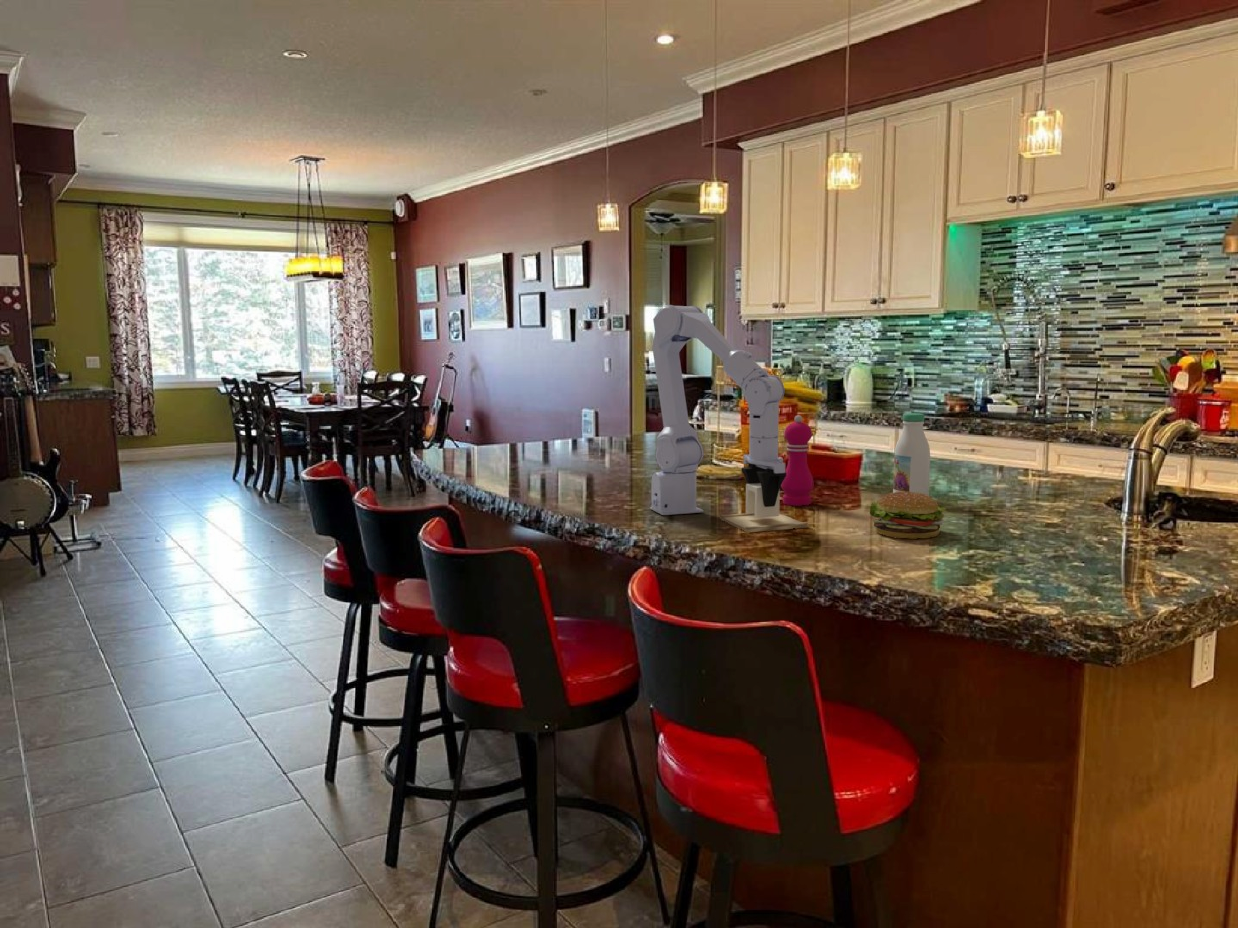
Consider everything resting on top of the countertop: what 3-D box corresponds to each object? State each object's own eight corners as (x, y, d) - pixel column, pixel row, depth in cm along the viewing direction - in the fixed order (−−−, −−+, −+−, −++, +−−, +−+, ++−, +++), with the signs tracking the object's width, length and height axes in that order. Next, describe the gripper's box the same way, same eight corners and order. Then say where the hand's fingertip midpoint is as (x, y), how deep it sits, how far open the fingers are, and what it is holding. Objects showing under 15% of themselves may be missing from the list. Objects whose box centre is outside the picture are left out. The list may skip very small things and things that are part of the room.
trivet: (747, 532, 171) (747, 527, 171) (720, 519, 183) (720, 515, 183) (807, 527, 175) (807, 523, 175) (776, 515, 187) (776, 511, 187)
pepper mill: (813, 506, 196) (815, 416, 193) (780, 506, 197) (781, 416, 195) (813, 500, 203) (814, 413, 200) (781, 500, 204) (782, 413, 202)
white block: (779, 516, 177) (779, 486, 176) (756, 517, 176) (756, 487, 175) (767, 511, 182) (768, 482, 181) (745, 513, 180) (745, 484, 180)
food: (951, 529, 172) (953, 489, 171) (936, 544, 160) (938, 501, 159) (880, 522, 179) (881, 484, 178) (861, 536, 167) (862, 494, 166)
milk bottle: (923, 498, 204) (927, 412, 202) (932, 504, 197) (935, 415, 194) (889, 498, 205) (892, 412, 202) (896, 504, 198) (899, 415, 195)
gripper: (799, 439, 171) (798, 508, 173) (765, 432, 185) (764, 496, 187) (766, 441, 169) (765, 511, 171) (734, 433, 183) (734, 498, 184)
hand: (763, 503), depth 179 cm, fingers closed on white block, 5 cm apart
